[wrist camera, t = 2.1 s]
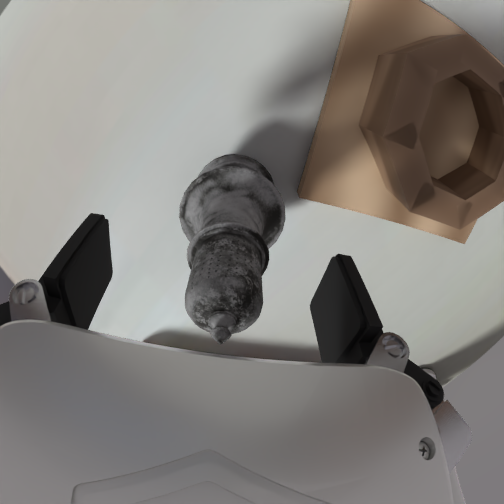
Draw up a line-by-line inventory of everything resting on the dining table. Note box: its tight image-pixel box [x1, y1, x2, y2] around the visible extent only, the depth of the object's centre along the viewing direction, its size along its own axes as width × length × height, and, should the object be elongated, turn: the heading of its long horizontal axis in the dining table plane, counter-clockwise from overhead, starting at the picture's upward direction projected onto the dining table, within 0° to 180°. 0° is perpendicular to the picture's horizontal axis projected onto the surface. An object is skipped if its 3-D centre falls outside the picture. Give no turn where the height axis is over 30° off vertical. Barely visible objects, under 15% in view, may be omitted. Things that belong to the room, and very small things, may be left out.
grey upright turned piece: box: [179, 155, 285, 344], centre depth 14 cm, size 6×6×12 cm
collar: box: [297, 0, 504, 244], centre depth 13 cm, size 16×16×4 cm
